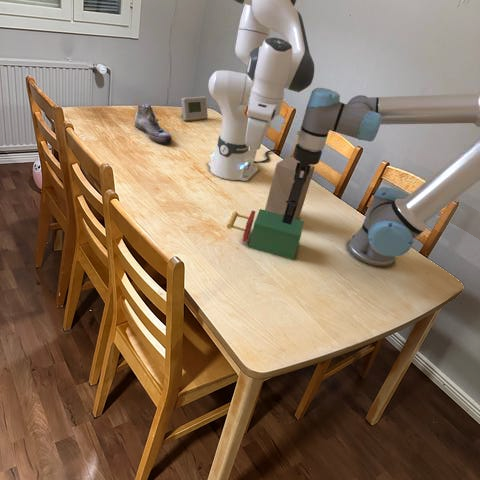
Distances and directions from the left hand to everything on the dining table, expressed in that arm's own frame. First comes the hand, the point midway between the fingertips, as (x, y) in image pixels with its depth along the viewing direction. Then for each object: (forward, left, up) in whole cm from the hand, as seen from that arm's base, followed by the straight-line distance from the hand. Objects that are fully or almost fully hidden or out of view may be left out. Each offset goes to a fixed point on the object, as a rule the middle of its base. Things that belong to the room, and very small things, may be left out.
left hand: (254, 152), depth 126 cm
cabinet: (-4, +11, -28) cm, 31 cm away
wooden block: (-23, +4, -28) cm, 37 cm away
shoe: (-40, -72, -28) cm, 87 cm away
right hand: (-5, +13, -15) cm, 21 cm away
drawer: (-2, +6, -27) cm, 28 cm away
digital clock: (-76, -77, -28) cm, 112 cm away
